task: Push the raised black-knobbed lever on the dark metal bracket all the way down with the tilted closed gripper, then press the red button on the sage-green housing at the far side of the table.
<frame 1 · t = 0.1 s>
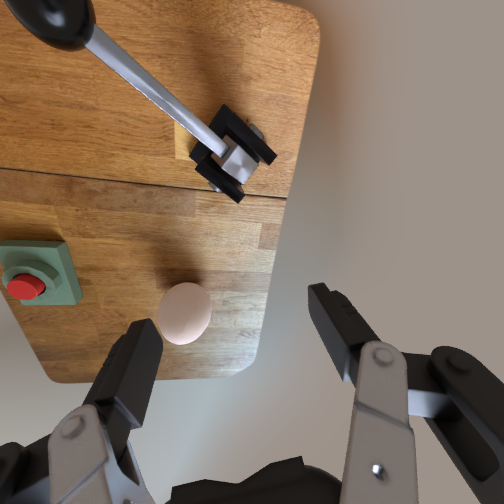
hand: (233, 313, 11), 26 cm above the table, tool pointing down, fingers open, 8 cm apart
lever: (171, 105, 14), point 17 cm above the table, hinge at 28.0°
button: (26, 286, 31), point 4 cm above the table, slide at 0.1 cm
bracket: (229, 152, 30), on the table
button box: (48, 270, 35), on the table
egg: (189, 289, 41), on the table
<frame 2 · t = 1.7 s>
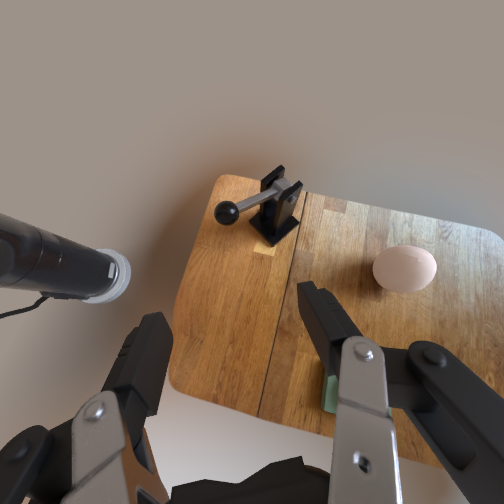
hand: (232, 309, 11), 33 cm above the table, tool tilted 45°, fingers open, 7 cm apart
lever: (256, 199, 31), point 17 cm above the table, hinge at 28.0°
bracket: (273, 223, 48), on the table
button box: (353, 389, 39), on the table
egg: (383, 274, 45), on the table
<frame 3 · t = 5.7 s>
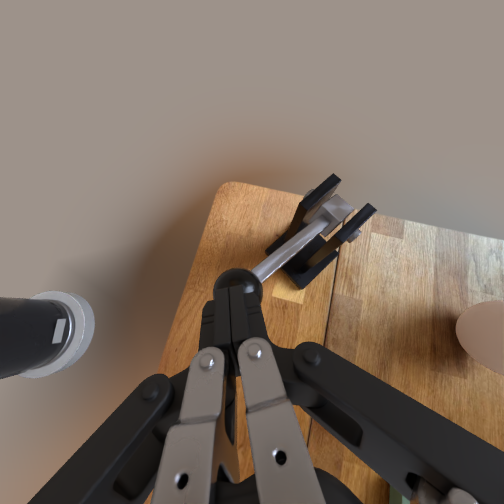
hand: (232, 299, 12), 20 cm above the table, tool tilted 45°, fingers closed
lever: (292, 247, 17), point 16 cm above the table, hinge at 22.3°, touching gripper
bracket: (300, 254, 33), on the table
egg: (466, 333, 30), on the table
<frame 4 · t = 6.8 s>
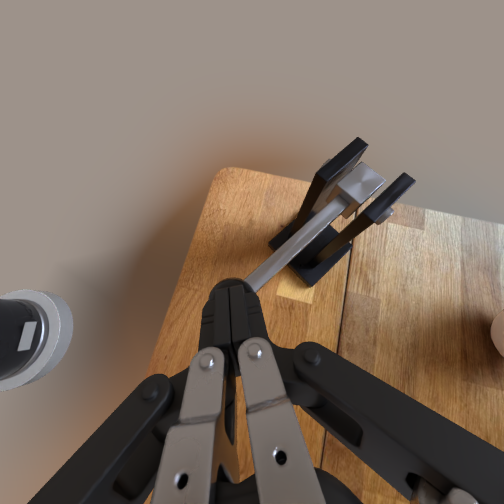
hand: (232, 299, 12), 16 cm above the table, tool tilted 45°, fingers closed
lever: (296, 243, 15), point 14 cm above the table, hinge at 0.2°, touching gripper
bracket: (308, 247, 29), on the table
egg: (501, 337, 26), on the table
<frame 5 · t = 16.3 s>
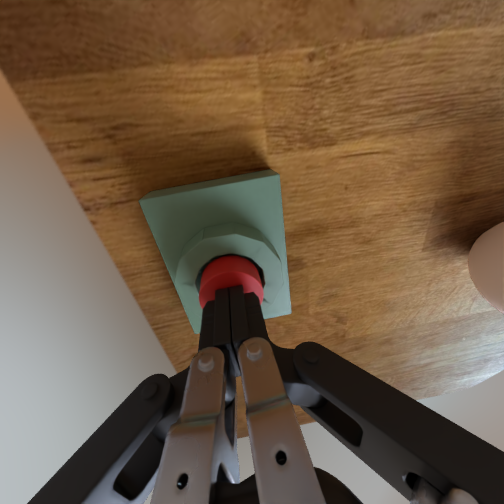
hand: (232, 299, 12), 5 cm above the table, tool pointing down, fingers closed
button: (231, 288, 13), point 4 cm above the table, slide at 0.1 cm, touching gripper
button box: (228, 252, 16), on the table
egg: (481, 240, 19), on the table
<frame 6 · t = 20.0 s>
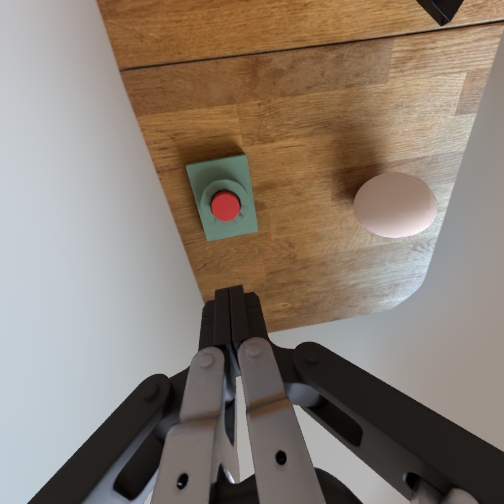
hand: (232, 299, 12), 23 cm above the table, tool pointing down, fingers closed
button: (225, 206, 28), point 4 cm above the table, slide at 0.1 cm
button box: (225, 197, 32), on the table
egg: (365, 195, 35), on the table
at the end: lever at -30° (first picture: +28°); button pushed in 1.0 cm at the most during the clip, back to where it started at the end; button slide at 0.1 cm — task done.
